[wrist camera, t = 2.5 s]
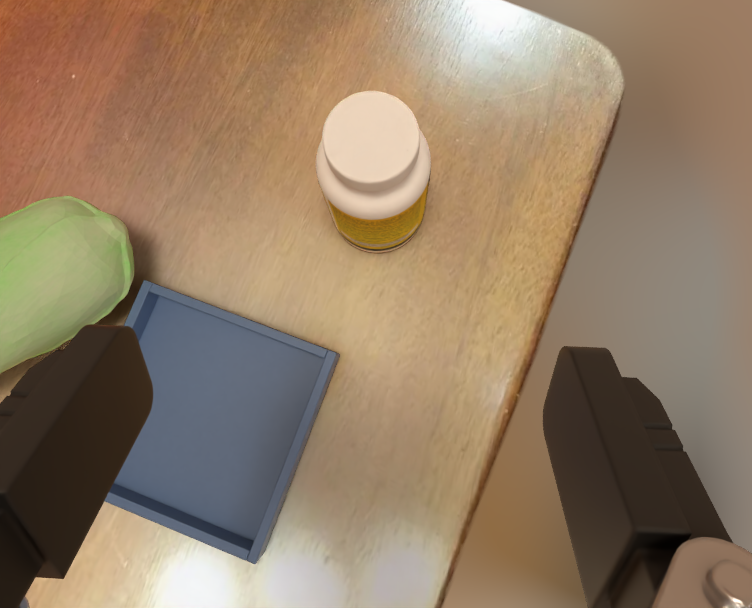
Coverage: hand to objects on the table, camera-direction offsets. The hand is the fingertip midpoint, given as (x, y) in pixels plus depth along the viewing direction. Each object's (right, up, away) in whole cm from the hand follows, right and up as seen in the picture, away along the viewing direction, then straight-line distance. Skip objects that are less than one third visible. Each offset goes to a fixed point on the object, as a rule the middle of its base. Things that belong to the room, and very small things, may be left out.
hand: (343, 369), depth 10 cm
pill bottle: (+1, +8, +26) cm, 27 cm away
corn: (-23, 0, +26) cm, 34 cm away
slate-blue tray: (-10, -6, +24) cm, 27 cm away
